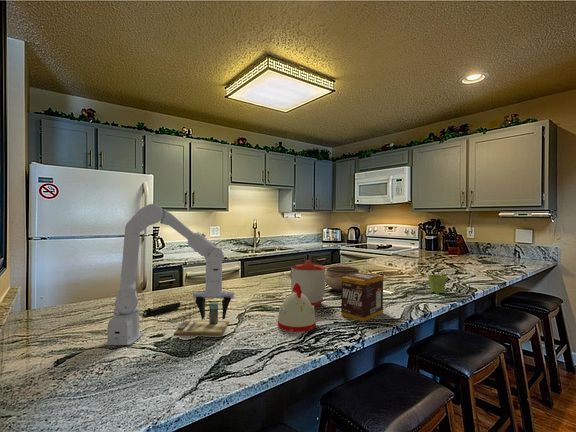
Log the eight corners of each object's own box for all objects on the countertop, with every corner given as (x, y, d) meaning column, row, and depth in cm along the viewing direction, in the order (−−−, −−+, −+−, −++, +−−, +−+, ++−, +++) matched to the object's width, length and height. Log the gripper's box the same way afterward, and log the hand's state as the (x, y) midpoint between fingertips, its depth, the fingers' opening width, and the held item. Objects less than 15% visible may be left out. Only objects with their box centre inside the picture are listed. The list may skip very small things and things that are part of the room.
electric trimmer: (182, 310, 131) (182, 302, 131) (146, 318, 119) (146, 310, 119) (177, 308, 133) (177, 301, 133) (141, 316, 122) (142, 308, 122)
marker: (217, 324, 110) (217, 305, 110) (208, 324, 110) (208, 305, 110) (218, 321, 113) (218, 302, 113) (210, 321, 113) (210, 302, 113)
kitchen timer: (283, 333, 105) (283, 289, 105) (273, 320, 118) (274, 280, 118) (321, 329, 108) (321, 286, 108) (308, 317, 122) (308, 279, 122)
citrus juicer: (293, 297, 150) (294, 256, 150) (329, 301, 143) (329, 258, 143) (281, 306, 135) (281, 260, 135) (319, 311, 129) (320, 263, 129)
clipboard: (222, 335, 102) (222, 331, 102) (173, 335, 102) (173, 330, 102) (228, 322, 114) (228, 319, 114) (185, 322, 114) (185, 318, 114)
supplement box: (340, 315, 124) (340, 276, 124) (361, 307, 134) (361, 271, 134) (363, 322, 116) (363, 280, 116) (383, 313, 127) (383, 275, 127)
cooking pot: (372, 294, 158) (372, 270, 158) (343, 298, 149) (343, 273, 149) (341, 284, 180) (341, 263, 180) (314, 287, 171) (314, 265, 171)
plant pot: (428, 294, 158) (428, 277, 158) (426, 290, 167) (426, 274, 167) (448, 295, 156) (449, 278, 156) (445, 291, 165) (445, 275, 165)
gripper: (235, 278, 115) (235, 314, 115) (196, 278, 115) (196, 314, 115) (232, 282, 108) (232, 321, 108) (190, 282, 108) (190, 320, 108)
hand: (213, 318), depth 111 cm, fingers open, 7 cm apart
